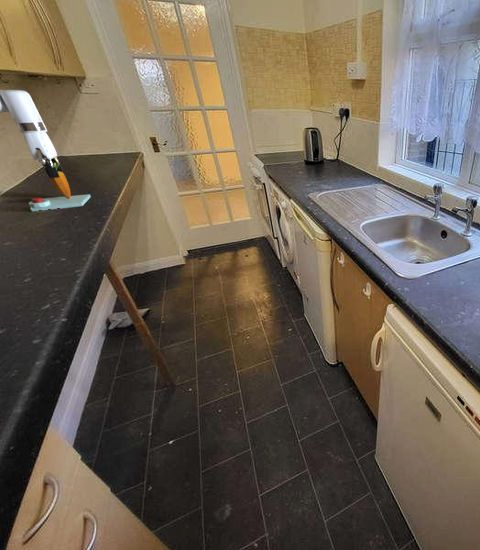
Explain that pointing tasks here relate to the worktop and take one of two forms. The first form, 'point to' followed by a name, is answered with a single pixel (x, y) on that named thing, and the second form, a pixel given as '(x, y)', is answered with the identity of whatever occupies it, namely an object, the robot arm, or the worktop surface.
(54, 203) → the scale
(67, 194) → the carrot
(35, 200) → the tare button
